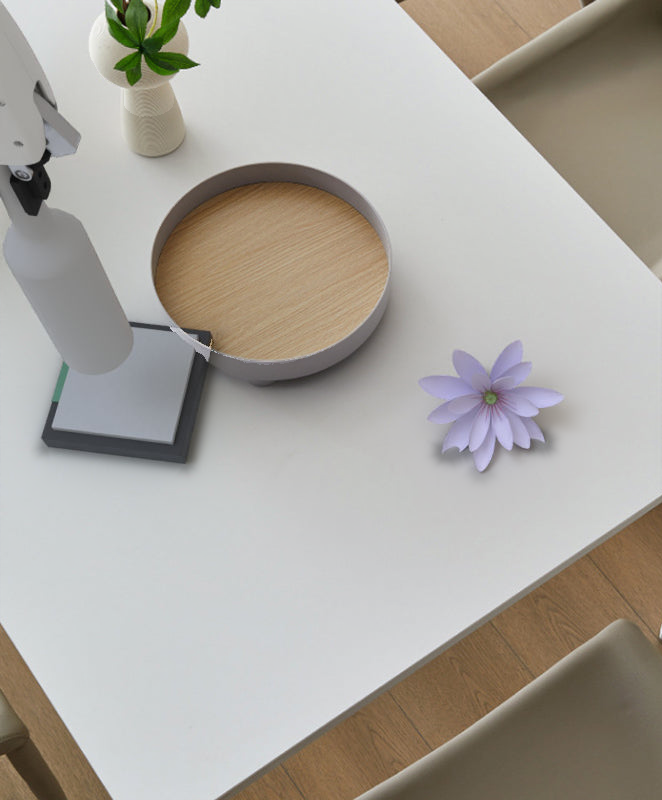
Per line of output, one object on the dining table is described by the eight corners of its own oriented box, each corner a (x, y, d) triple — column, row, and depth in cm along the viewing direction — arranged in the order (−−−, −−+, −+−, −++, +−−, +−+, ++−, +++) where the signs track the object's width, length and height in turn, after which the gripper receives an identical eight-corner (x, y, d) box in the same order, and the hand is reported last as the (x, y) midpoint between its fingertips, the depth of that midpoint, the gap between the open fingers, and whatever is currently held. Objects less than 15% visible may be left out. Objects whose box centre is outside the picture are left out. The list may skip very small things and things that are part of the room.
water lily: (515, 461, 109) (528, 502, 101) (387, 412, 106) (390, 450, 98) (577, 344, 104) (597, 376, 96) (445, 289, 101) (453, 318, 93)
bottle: (84, 389, 90) (-31, 198, 64) (46, 336, 92) (-80, 131, 66) (148, 348, 91) (60, 147, 66) (109, 298, 93) (10, 84, 68)
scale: (48, 448, 102) (38, 435, 99) (84, 327, 108) (75, 311, 105) (185, 465, 101) (179, 452, 98) (214, 342, 107) (209, 327, 104)
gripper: (-269, 24, 53) (-115, 226, 70) (33, 59, 53) (116, 255, 69) (-214, -77, 56) (-79, 140, 73) (72, -44, 56) (142, 167, 72)
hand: (15, 195), depth 71 cm, fingers closed on bottle, 2 cm apart
